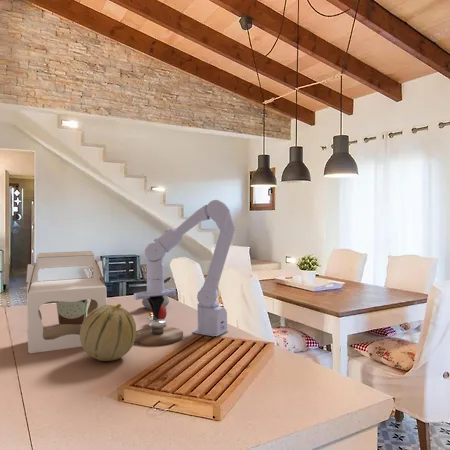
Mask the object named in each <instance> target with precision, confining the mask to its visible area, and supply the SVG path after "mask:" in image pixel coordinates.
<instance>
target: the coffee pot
mask: <svg viewBox="0 0 450 450" xmlns="http://www.w3.org/2000/svg"><path fill="white" fill-rule="evenodd" d="M171 279H172V280H171ZM170 280H171V282H173V281H174V279H173V278H172V277H170V276H169V277H166V278H164V284H166V283H168V282H169V283H170ZM146 291H147V289H146ZM163 298H164V302H163V303H162V305H163V306H164V307H165V308H166V307H168V305H169V303H170V298H169V296H164V297H163ZM141 303H142V306H143V307H144V308H146V310H150V311H151V309H152V308H151V305H150V303H149V301H148V299H147V298H145V299H141Z"/></svg>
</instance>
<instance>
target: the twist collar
mask: <svg viewBox="0 0 450 450" xmlns="http://www.w3.org/2000/svg"><path fill="white" fill-rule="evenodd" d="M146 314H147V315H146V319H147V320H148V328H164V327H168V326H167V324H168V323H167V320H166V318H165V319H157V318H156V317H155V316H154V315H153V312H151V311H150V312H147V313H146Z"/></svg>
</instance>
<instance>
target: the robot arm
mask: <svg viewBox="0 0 450 450" xmlns="http://www.w3.org/2000/svg"><path fill="white" fill-rule="evenodd" d="M209 220H212V221H213V222H215V224H216V225H217V227H218V230H219V234H218V237H217V241H216V243H215V247H214V250H213V253H212V258H211V261H210V264H209V267H208V270H207V275H206V277H205V280H204V282H203V285H202V287H201V288H200V290H199V291H198V292H197V295H196V296H197V297H196V299H197V302H198V303H197V329H195V330H192V331H191V333H193V334H198V335H203V336H208V337H209V336H211V337H214V336H216V337H218V336H221V335H223V334H225V333H228V332H229V329H228V312H227V309H226V308H225V307H221V306H220V302H219V301H218V300H217V298H218V297H219V284H220V280H221V277H222V273H223V270H224V266H225V263H226V260H227V256H228V254H229V250H230V248H231V243H232V240H233V237H234V233H235V231H236V229H235V228H236V226H235V223H234V221H233V217H232V213H231V210H230V209H229V207H228V206H227V205H226V203H224V201H221V200H219V199H214V200H211V201H209V202H208V203H207V204H205V205H203V206H202V207H200V208H199V209H197V210H196V211H195V212H193V214H191V215H190V216H189V217H188V218H187V219H185V221H183V222H182V223H181V224H180V225H179V226H178V227H170V228H166V229H165V230H164V233H163V234H162V235H160V236H159V237H158V238H157V237H156V238H154V239H153V241H154V242H151V243H148V244H147V246H146V248H145V250H144V255H145V257H146V290H147V291H141V292H135V293H133V300H135V301H139V300H143V299H145V298H147V299H148V301H149V303H150V305H151V308H152V311H153V315H154V316H155V317H156V318H157V319H158V314H159V311H160V308H161V305H162V303H163V302H164V298H163V297H164V296H167V297H169V296H177V289H172V288H171V289H165V283H164V280H165V266H164V265H165V263H164V257H165V255H166V253H169V252H170V251H171V250H173V249H174V248H175V247H176V246H177V245H179V244H180V243H181V242H182V241H183V236H184V235H185V234H186V233H188V232H189V231H190V230H191V229H193V228H195V227H196V226H197V225H198V224H200V222H204V221H209Z"/></svg>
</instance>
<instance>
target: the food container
mask: <svg viewBox="0 0 450 450" xmlns="http://www.w3.org/2000/svg"><path fill="white" fill-rule="evenodd" d="M54 303H55V304H56V310H57V311H56V312H57V319H58V320H57V321H58V326H60V325H64V324H74V325H82V323H83V321H84V319H85V318H86V317H87V310H88V304H90V299H87V300H81V301H76V302H63V301H54Z"/></svg>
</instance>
